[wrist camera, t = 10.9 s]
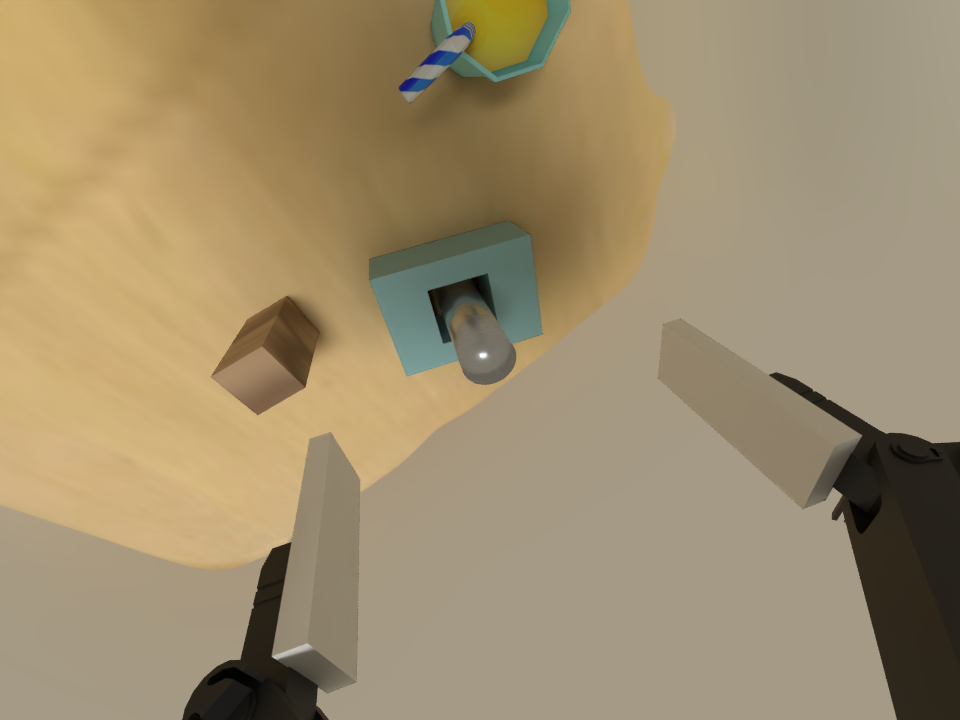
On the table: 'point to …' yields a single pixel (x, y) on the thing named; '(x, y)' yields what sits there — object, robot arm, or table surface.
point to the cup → (488, 39)
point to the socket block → (479, 253)
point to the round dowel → (475, 333)
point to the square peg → (269, 357)
